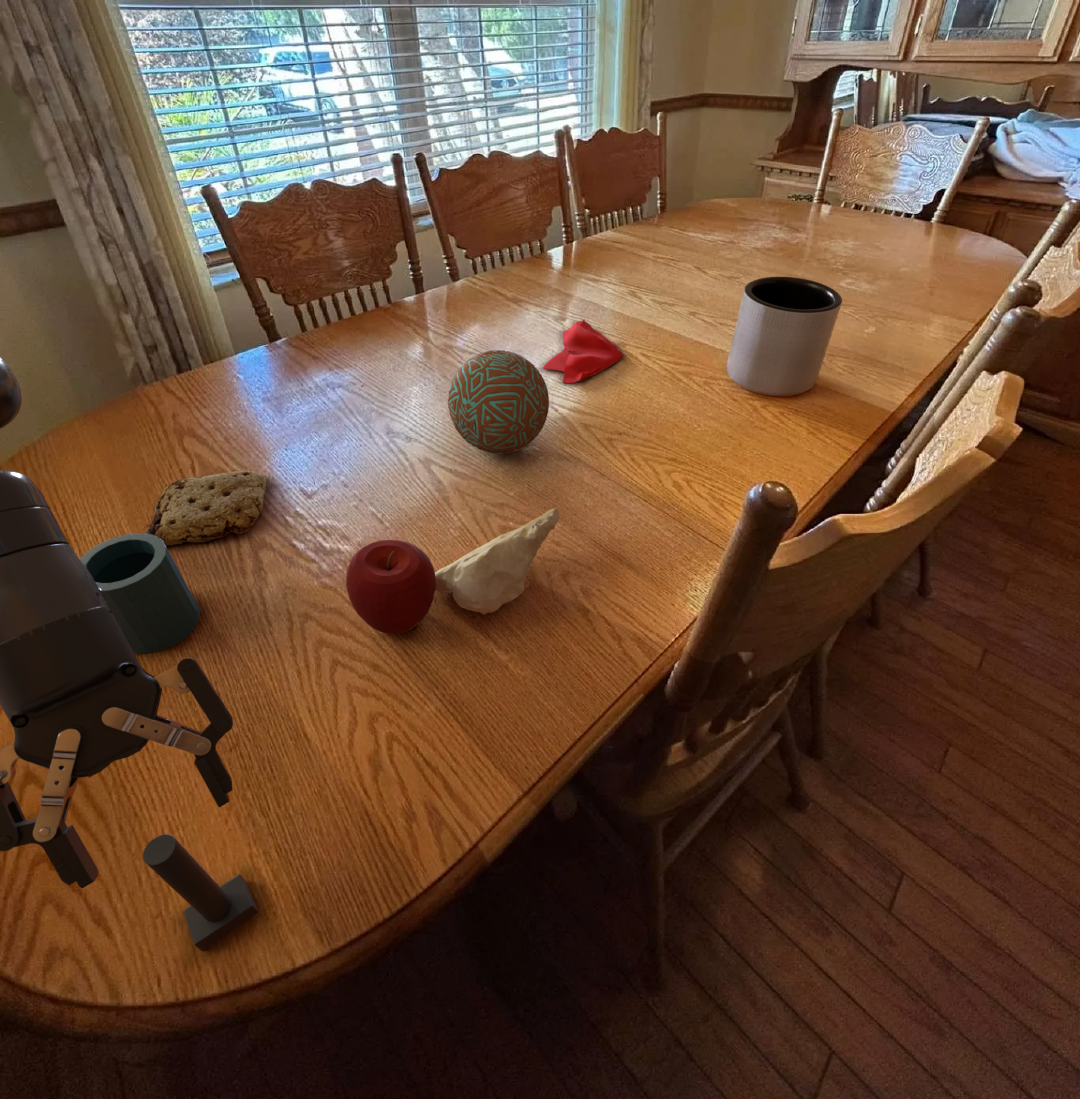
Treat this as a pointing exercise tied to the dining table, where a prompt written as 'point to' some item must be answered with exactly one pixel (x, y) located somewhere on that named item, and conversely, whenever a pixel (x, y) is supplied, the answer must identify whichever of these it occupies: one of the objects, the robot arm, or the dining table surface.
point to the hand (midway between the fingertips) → (161, 839)
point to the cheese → (496, 567)
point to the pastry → (208, 507)
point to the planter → (782, 335)
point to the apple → (391, 585)
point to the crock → (143, 590)
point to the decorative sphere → (498, 401)
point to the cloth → (583, 353)
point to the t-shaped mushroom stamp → (200, 892)
